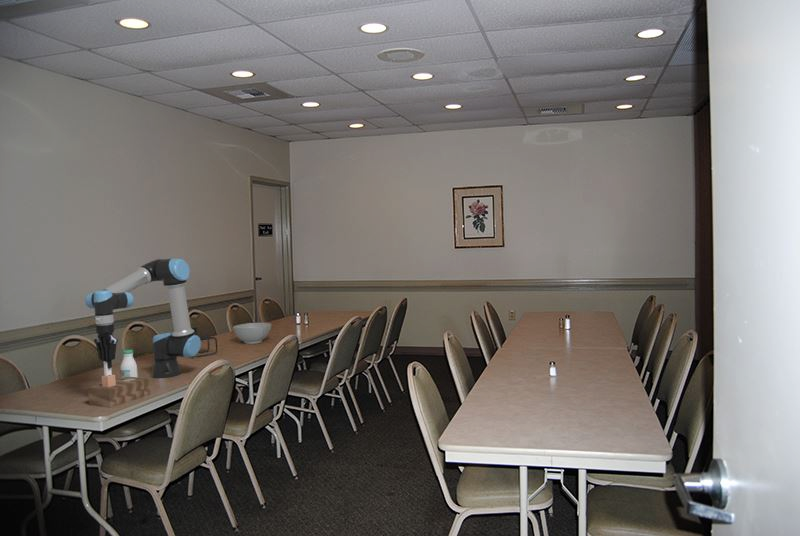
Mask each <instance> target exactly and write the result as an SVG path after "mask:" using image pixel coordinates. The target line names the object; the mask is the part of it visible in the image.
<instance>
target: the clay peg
mask: <svg viewBox="0 0 800 536" xmlns="http://www.w3.org/2000/svg"><path fill="white" fill-rule="evenodd" d="M116 380H117V379H116V374H112V375H108V376H104V375H102V376H101V384H102V387H111V386H115V385H116Z"/></svg>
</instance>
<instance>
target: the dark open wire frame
mask: <svg viewBox="0 0 800 536" xmlns="http://www.w3.org/2000/svg"><path fill="white" fill-rule="evenodd" d="M190 326H193V327H191V329H193V330H194V332H195V335H197V336H198V337H199V338H200V340H201V341H207V350H205V351H199V352H198V353H201V354H200V355H199V354H198V353H197V354H196V355H195V356H192V357H191V358H190V359H195V358H194V357H198V358H203V357H202V356H204V357H208V355H209V356H214V355H216V354H217V353H218V352H219V351H218V350H219V349H218V339H217V338H216V337H214V336H208V335H206V334H205V335H204V334H203V335H198V329H197V328H198V327H197V325H196V324H195V323H190ZM210 340H214V341H215V351H214V352H212V353H208V352H210ZM205 352H206V354H205ZM207 353H208V354H207Z"/></svg>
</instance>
